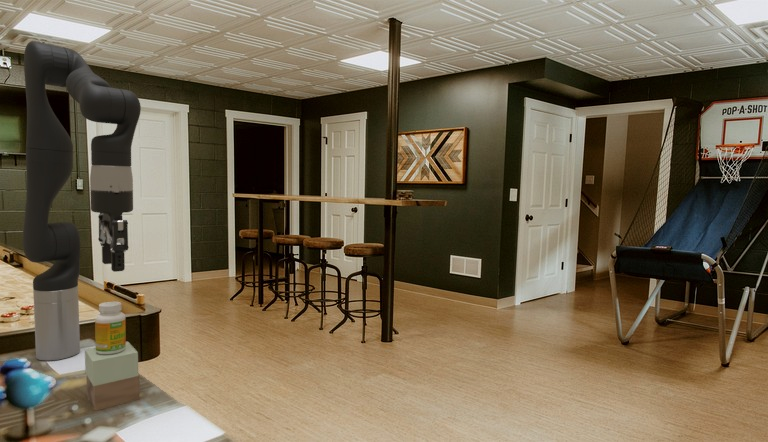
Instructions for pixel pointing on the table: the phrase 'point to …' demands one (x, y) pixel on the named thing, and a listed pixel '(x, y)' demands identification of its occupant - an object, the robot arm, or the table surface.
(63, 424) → the table surface
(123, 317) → the supplement bottle
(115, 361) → the tower top
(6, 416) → the table surface
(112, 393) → the tower base
